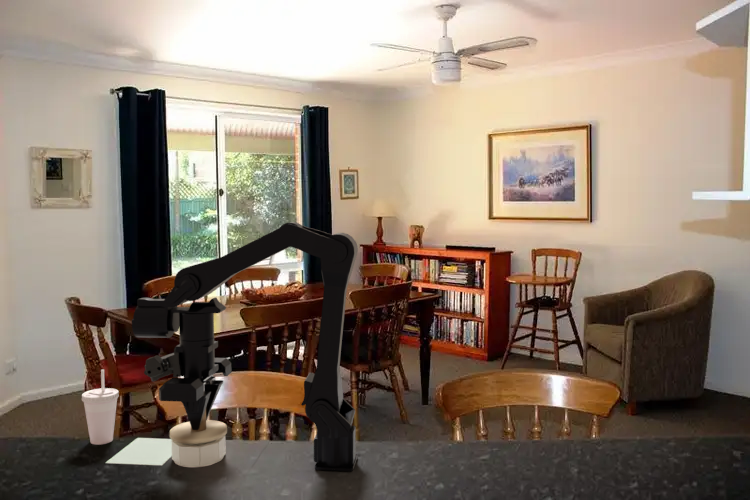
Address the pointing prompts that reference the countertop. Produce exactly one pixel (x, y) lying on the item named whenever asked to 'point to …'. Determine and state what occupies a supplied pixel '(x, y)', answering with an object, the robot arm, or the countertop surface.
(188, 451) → the white octagonal pot
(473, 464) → the countertop surface
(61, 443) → the countertop surface
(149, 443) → the mat
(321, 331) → the robot arm
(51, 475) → the countertop surface
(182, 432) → the lid
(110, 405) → the smoothie
